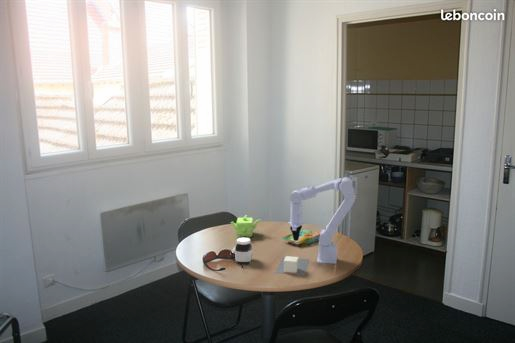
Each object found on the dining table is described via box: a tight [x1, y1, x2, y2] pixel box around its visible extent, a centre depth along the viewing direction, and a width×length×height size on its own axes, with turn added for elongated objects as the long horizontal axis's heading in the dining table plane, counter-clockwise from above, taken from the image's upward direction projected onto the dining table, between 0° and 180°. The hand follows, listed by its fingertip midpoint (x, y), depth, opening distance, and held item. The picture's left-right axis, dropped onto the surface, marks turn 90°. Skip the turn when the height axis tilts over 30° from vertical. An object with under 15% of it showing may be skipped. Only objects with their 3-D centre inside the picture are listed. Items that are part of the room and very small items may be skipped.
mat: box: [274, 256, 310, 276], centre depth 216 cm, size 14×20×1 cm
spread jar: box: [230, 237, 253, 265], centre depth 223 cm, size 12×11×12 cm
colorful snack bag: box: [281, 229, 320, 247], centre depth 250 cm, size 12×5×20 cm
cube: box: [284, 255, 299, 274], centre depth 209 cm, size 6×6×6 cm
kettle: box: [230, 214, 261, 239], centre depth 261 cm, size 15×14×11 cm
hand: (296, 240), depth 224 cm, fingers closed
